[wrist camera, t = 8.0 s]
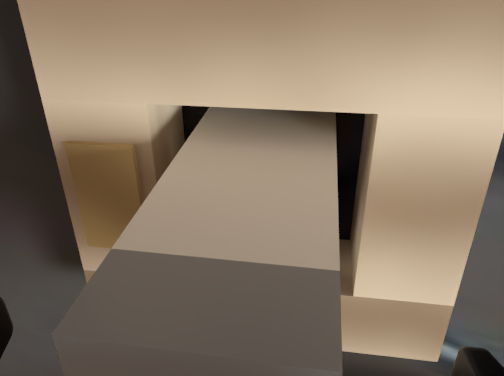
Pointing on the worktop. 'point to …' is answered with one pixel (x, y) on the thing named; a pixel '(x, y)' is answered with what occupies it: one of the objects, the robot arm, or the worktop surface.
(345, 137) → the worktop surface
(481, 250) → the worktop surface
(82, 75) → the socket block
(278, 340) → the plug
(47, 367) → the worktop surface
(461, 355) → the robot arm
